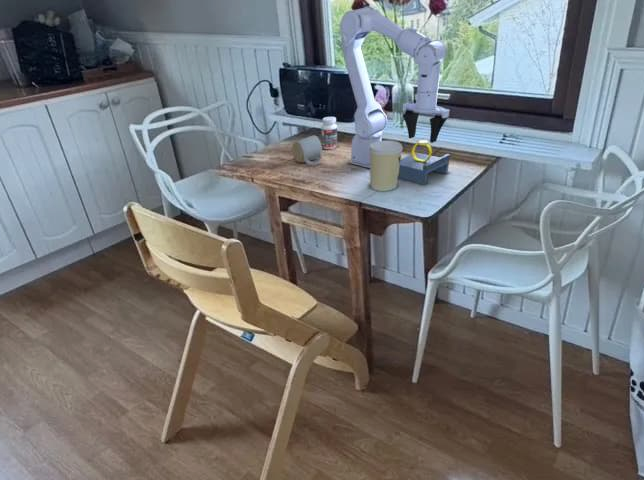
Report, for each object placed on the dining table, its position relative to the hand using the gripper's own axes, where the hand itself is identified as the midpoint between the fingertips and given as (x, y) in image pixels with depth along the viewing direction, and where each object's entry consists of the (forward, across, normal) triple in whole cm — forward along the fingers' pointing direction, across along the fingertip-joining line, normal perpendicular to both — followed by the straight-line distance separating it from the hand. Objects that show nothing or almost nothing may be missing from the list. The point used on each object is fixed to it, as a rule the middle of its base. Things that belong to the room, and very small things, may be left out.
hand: (422, 139), depth 154 cm
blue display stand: (+10, -1, +1) cm, 10 cm away
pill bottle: (+11, +41, -3) cm, 43 cm away
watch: (+6, -1, +1) cm, 6 cm away
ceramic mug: (+10, +36, +12) cm, 40 cm away
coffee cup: (+10, +2, +14) cm, 18 cm away
